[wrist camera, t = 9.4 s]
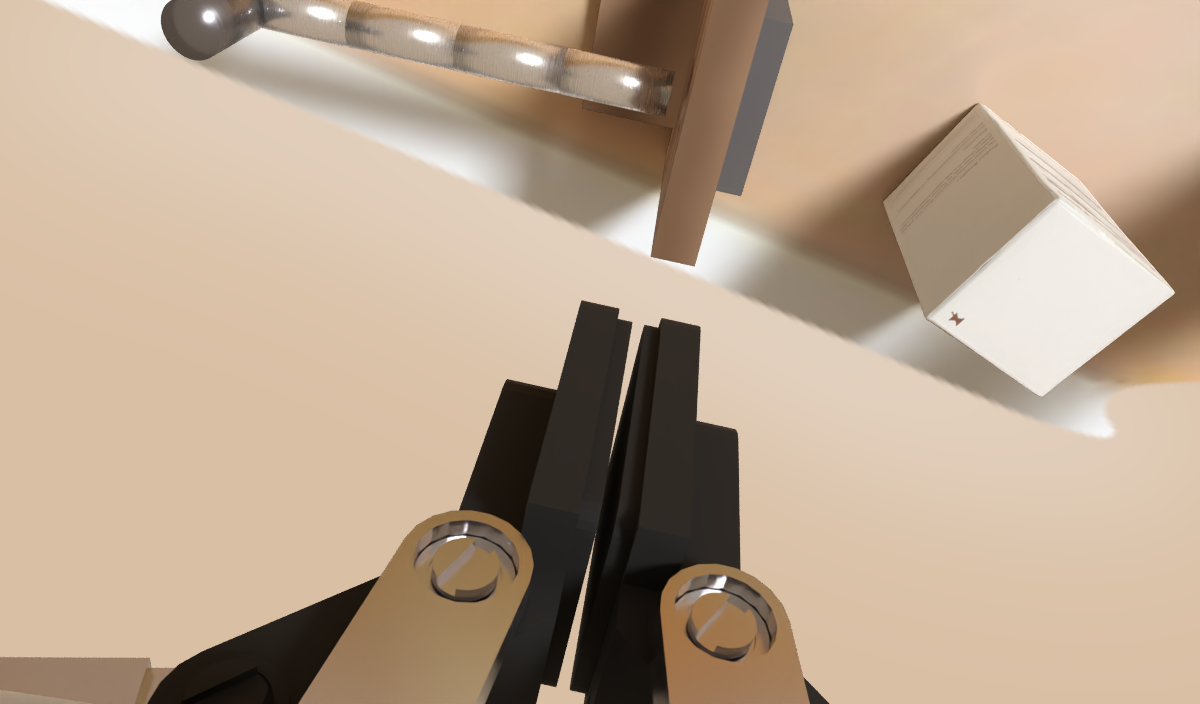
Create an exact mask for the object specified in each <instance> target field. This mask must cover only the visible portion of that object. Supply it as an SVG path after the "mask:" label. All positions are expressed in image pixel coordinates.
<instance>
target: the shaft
mask: <svg viewBox="0 0 1200 704" xmlns="http://www.w3.org/2000/svg"><path fill="white" fill-rule="evenodd" d="M161 25H162V30H163V33H164V35H165V37H166V39H167V41H168V42H169V43H170V45H171V46H172V47H173V48H174V49H175V50H176V51H177V52H178V53H180V54H181V55H183V56H185V57H187V58H189V59H193V60H206V59H208V58H210V57H212V56H214V55H216V54H217V53H219V52H221V51H223V50H224V49H226V48H228V47H229V46H231V45H233V44H235V43H236V42H238V41H240V40H241V39H243V38H245V37H247V36H248V35H250V34H252V33H253V32H255V31H257V30H259V29H260V28H264V29H268V30H273V31H277V32H282V33H286V34H291V35H295V36H300V37H304V38H309V39H313V40H318V41H322V42H327V43H331V44H336V45H340V46H345V47H349V48H354V49H358V50H363V51H367V52H372V53H377V54H381V55H386V56H390V57H395V58H399V59H404V60H408V61H413V62H417V63H422V64H426V65H431V66H435V67H440V68H444V69H449V70H453V71H458V72H462V73H467V74H471V75H476V76H480V77H485V78H490V79H494V80H499V81H503V82H508V83H512V84H517V85H521V86H526V87H530V88H535V89H539V90H544V91H548V92H553V93H557V94H562V95H566V96H571V97H575V98H580V99H584V100H589V101H593V102H598V103H602V104H607V105H612V106H616V107H621V108H625V109H630V110H634V111H639V112H643V113H648V114H652V115H657V116H661V117H665V115H666V111H667V107H668V102H669V98H670V94H671V89H672V85H673V80H674V75H675V71H671V70H666V69H662V68H657V67H653V66H648V65H644V64H639V63H635V62H630V61H626V60H621V59H617V58H612V57H608V56H603V55H599V54H594V53H590V52H585V51H581V50H576V49H572V48H567V47H562V46H558V45H553V44H549V43H544V42H540V41H535V40H531V39H526V38H522V37H517V36H513V35H508V34H504V33H499V32H495V31H490V30H486V29H481V28H477V27H472V26H468V25H463V24H459V23H454V22H450V21H445V20H441V19H436V18H432V17H427V16H423V15H418V14H414V13H409V12H404V11H400V10H395V9H391V8H386V7H382V6H377V5H373V4H368V3H364V2H359V1H355V0H171V1H170V2H168V3H167V4H166V5H165V7H164V9H163V11H162V15H161Z"/></svg>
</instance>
